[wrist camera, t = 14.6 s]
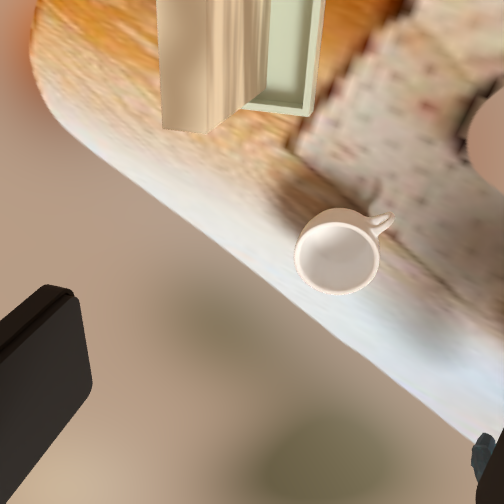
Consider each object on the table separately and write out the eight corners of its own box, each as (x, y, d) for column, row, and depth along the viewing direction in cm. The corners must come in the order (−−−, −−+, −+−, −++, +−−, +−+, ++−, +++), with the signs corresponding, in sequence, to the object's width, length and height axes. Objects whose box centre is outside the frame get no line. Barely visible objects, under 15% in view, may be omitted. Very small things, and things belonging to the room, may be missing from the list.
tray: (330, -48, 37) (326, -49, 35) (313, 110, 43) (308, 116, 41) (185, -54, 40) (173, -56, 38) (188, 95, 46) (178, 101, 44)
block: (272, -29, 38) (205, -32, 26) (266, 88, 43) (206, 134, 30) (236, -31, 39) (154, -35, 26) (234, 85, 44) (162, 128, 31)
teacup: (334, 279, 51) (326, 308, 47) (288, 224, 50) (276, 249, 45) (418, 232, 46) (419, 259, 42) (370, 169, 44) (366, 191, 40)
